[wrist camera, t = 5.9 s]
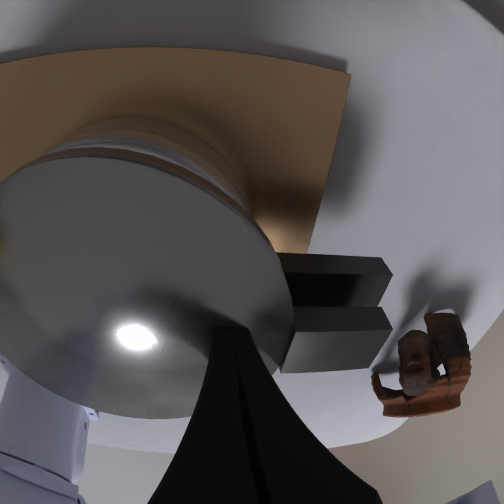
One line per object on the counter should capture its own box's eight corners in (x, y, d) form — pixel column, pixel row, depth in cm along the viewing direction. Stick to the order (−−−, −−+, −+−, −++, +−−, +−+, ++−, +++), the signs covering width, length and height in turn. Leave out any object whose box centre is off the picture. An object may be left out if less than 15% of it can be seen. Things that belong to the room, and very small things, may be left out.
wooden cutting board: (299, 347, 23) (317, 411, 18) (30, 333, 19) (9, 393, 15) (383, 84, 13) (457, 110, 8) (-27, 71, 9) (-100, 96, 5)
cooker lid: (23, 381, 13) (17, 400, 12) (-66, 158, 6) (-88, 174, 5) (323, 402, 16) (328, 422, 15) (432, 186, 9) (455, 205, 8)
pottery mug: (469, 321, 26) (474, 402, 23) (386, 338, 32) (388, 413, 28) (457, 292, 18) (466, 416, 15) (337, 318, 24) (337, 425, 20)
